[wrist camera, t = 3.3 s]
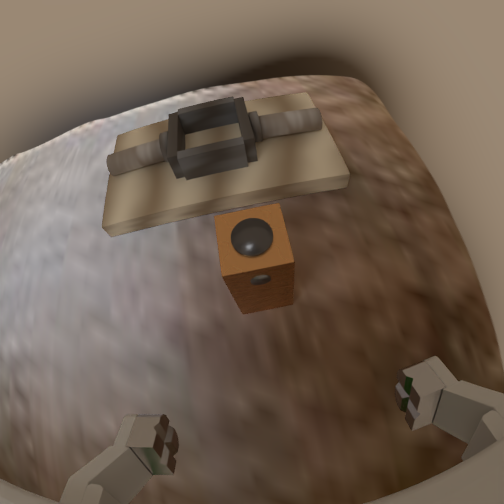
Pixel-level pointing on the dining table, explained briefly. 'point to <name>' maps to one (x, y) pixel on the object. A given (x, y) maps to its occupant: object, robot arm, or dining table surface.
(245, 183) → the base
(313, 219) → the dining table surface
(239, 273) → the block
